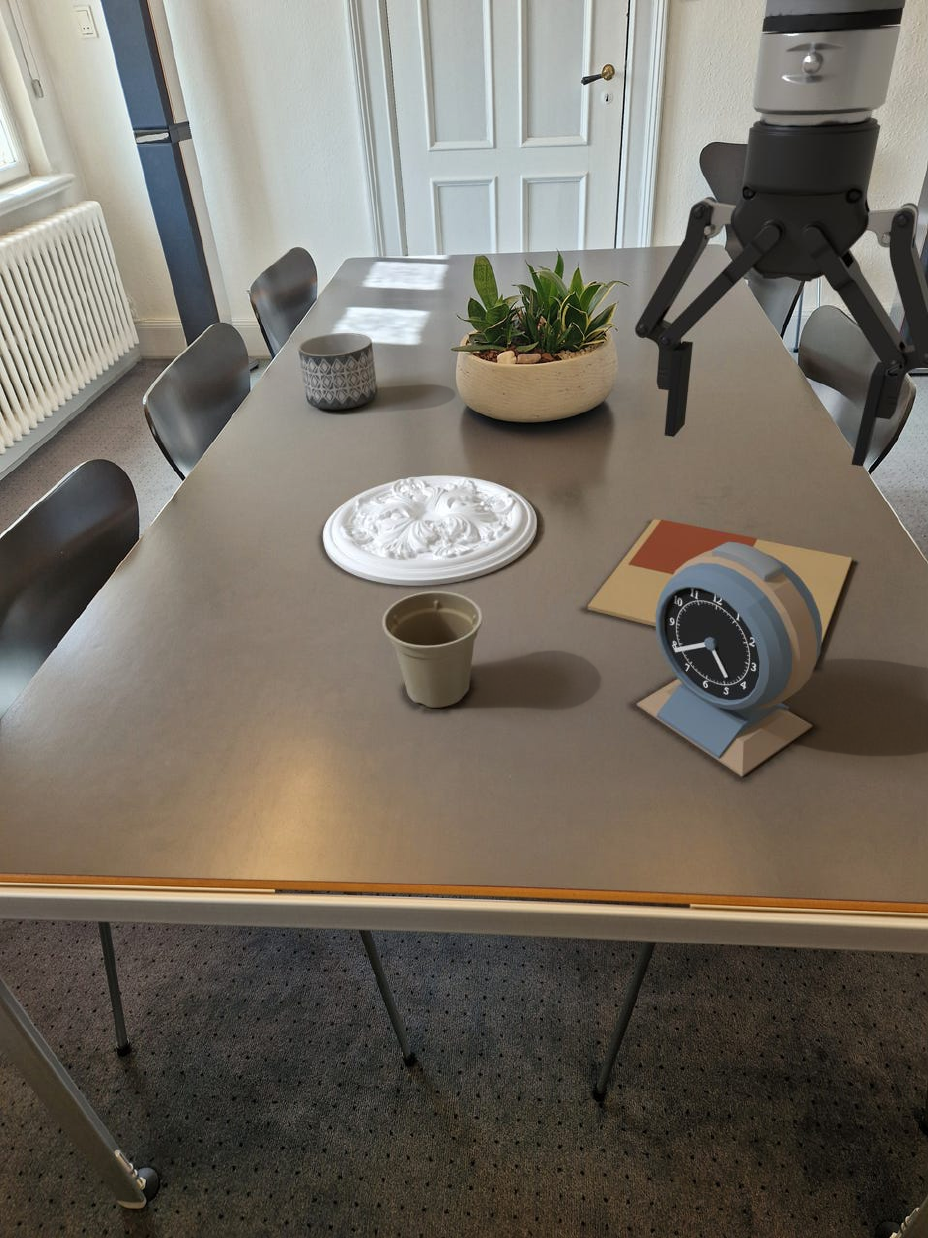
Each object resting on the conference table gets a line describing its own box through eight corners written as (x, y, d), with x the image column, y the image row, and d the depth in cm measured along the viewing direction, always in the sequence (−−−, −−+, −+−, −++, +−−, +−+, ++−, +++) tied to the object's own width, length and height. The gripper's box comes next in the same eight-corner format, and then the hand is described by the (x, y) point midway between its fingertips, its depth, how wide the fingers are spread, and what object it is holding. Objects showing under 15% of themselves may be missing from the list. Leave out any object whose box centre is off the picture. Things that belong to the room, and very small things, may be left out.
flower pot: (446, 648, 90) (440, 579, 85) (505, 689, 84) (503, 617, 79) (373, 687, 85) (362, 616, 80) (430, 734, 79) (422, 660, 74)
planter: (374, 413, 147) (366, 353, 141) (301, 416, 148) (291, 356, 142) (381, 388, 157) (375, 331, 151) (314, 391, 158) (305, 334, 152)
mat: (851, 562, 99) (852, 556, 99) (813, 666, 84) (814, 661, 84) (653, 522, 110) (654, 517, 109) (587, 609, 94) (587, 604, 94)
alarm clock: (629, 700, 82) (640, 539, 71) (697, 659, 86) (717, 502, 76) (751, 783, 72) (785, 611, 62) (821, 732, 76) (863, 564, 66)
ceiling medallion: (280, 559, 107) (276, 538, 105) (391, 470, 127) (389, 450, 126) (480, 605, 96) (479, 581, 95) (567, 499, 117) (568, 478, 115)
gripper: (599, 123, 54) (588, 436, 66) (1055, 121, 44) (943, 494, 56) (639, 111, 59) (623, 403, 72) (1055, 106, 49) (953, 450, 61)
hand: (763, 443), depth 64 cm, fingers open, 13 cm apart
